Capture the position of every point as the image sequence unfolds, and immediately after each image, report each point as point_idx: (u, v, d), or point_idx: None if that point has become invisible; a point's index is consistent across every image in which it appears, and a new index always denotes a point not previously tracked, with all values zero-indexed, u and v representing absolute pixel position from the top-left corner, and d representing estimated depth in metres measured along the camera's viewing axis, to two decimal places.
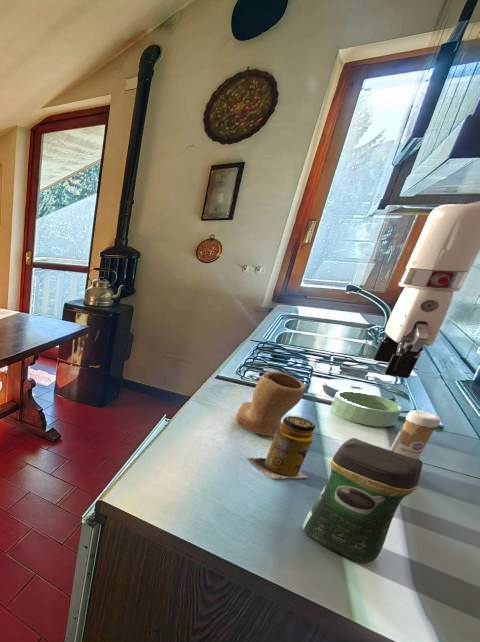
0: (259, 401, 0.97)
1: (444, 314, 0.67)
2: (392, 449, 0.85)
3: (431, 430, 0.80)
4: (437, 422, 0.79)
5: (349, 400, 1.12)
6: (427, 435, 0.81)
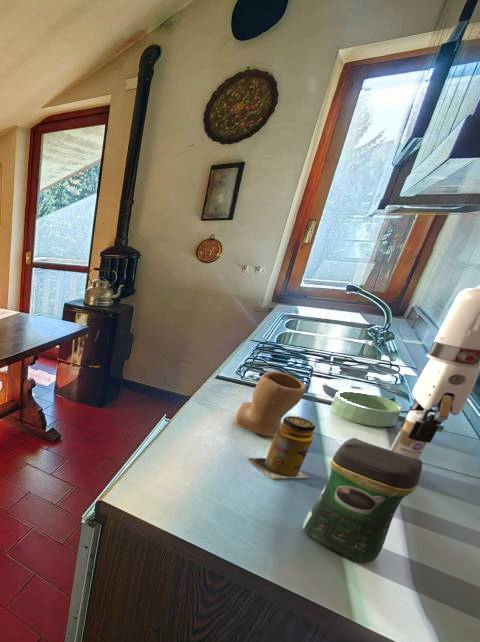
0: (259, 401, 0.97)
1: (471, 388, 0.73)
2: (392, 449, 0.85)
3: None
4: None
5: (349, 400, 1.12)
6: None
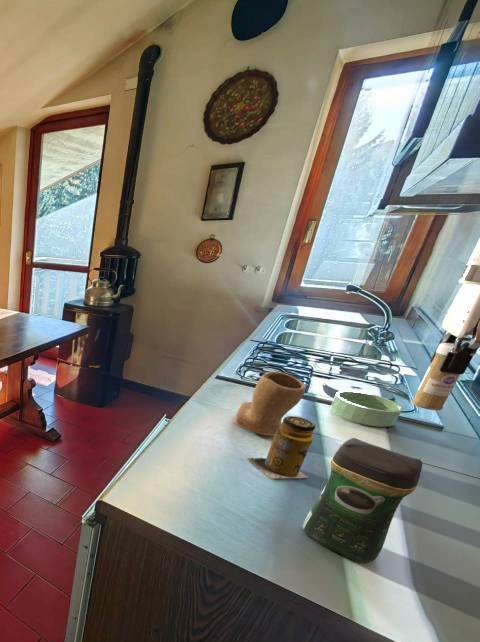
0: (259, 401, 0.97)
1: None
2: (421, 386, 0.81)
3: None
4: None
5: (349, 400, 1.12)
6: None
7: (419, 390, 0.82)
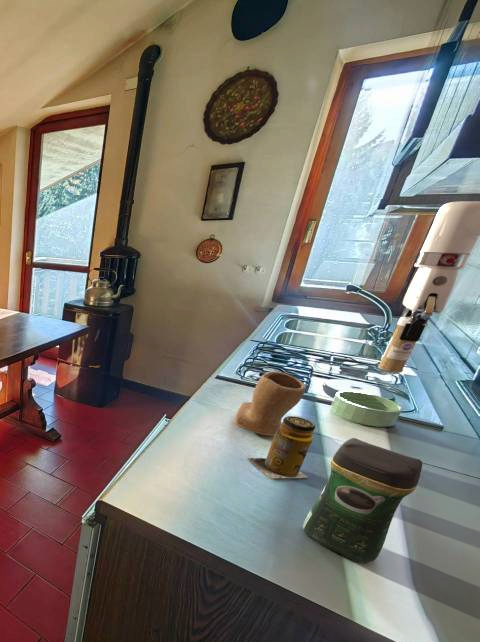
0: (259, 401, 0.97)
1: (451, 287, 0.86)
2: (385, 353, 0.98)
3: None
4: None
5: (349, 400, 1.12)
6: None
7: (384, 356, 0.99)
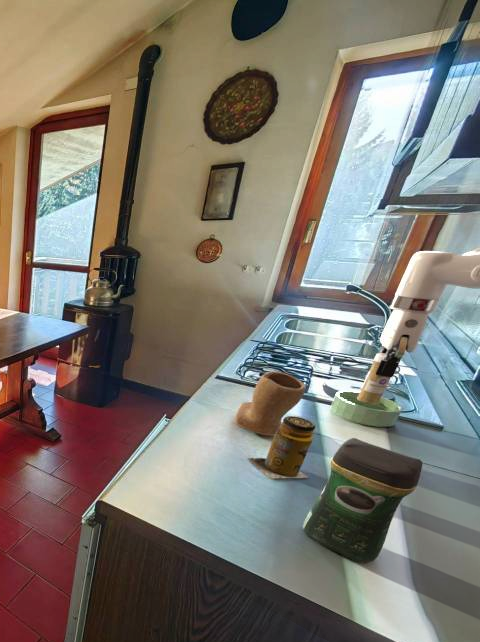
0: (259, 401, 0.97)
1: (421, 329, 0.93)
2: (363, 386, 1.06)
3: None
4: None
5: (349, 400, 1.12)
6: None
7: (362, 389, 1.06)
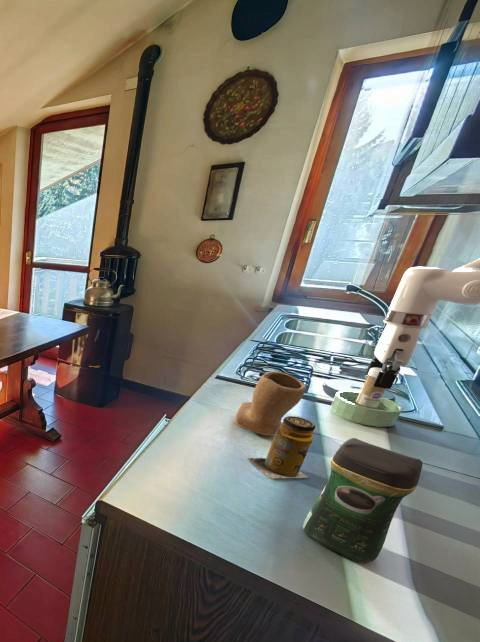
0: (259, 401, 0.97)
1: (414, 344, 0.95)
2: (358, 399, 1.07)
3: None
4: None
5: (349, 400, 1.12)
6: None
7: (356, 402, 1.08)
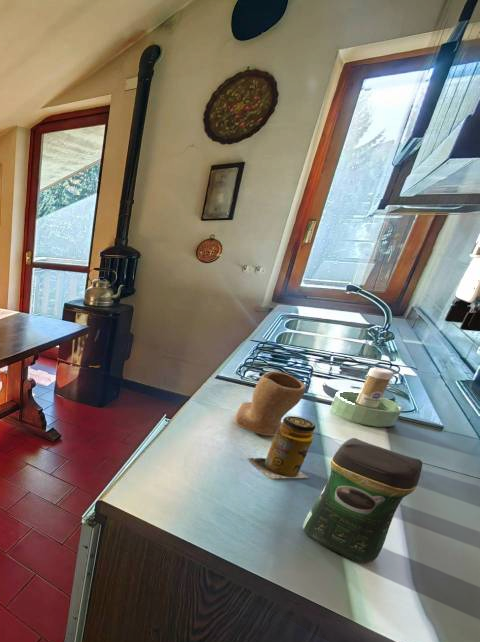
0: (259, 401, 0.97)
1: None
2: (358, 399, 1.07)
3: (386, 382, 1.02)
4: (391, 375, 1.01)
5: (349, 400, 1.12)
6: (384, 386, 1.02)
7: (356, 402, 1.08)
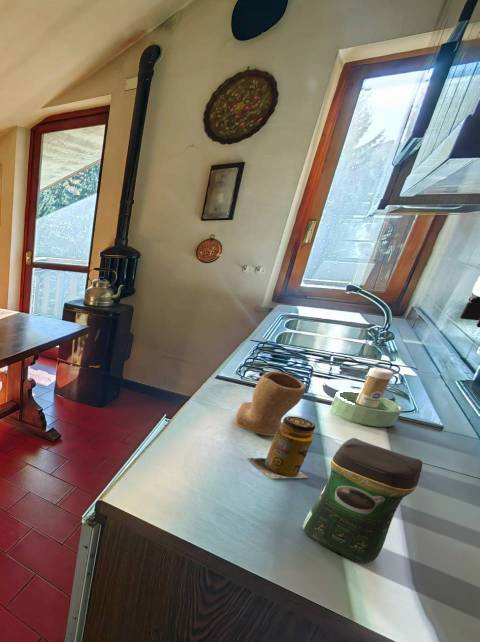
0: (259, 401, 0.97)
1: None
2: (358, 399, 1.07)
3: (386, 382, 1.02)
4: (391, 375, 1.01)
5: (349, 400, 1.12)
6: (384, 386, 1.02)
7: (356, 402, 1.08)
